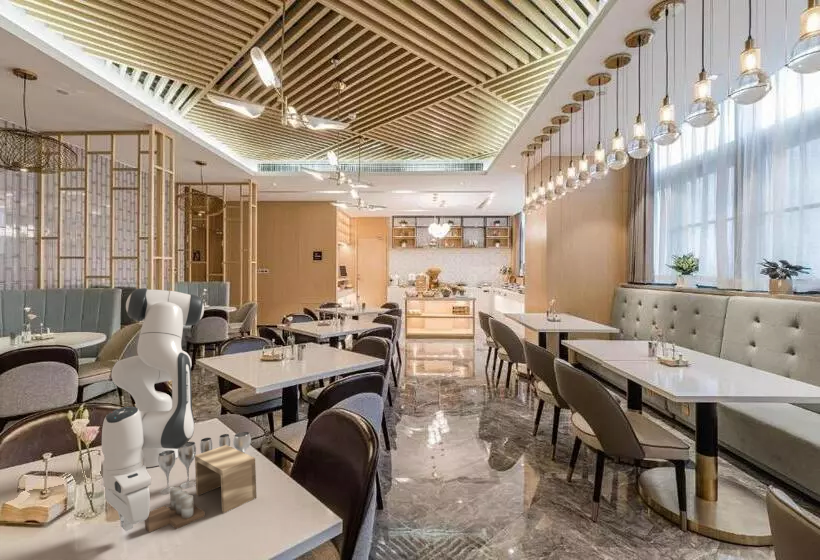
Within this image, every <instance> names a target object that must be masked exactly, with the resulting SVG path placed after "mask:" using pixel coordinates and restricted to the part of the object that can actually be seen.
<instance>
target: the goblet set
mask: <svg viewBox="0 0 820 560" xmlns="http://www.w3.org/2000/svg"><path fill="white" fill-rule="evenodd" d="M251 444H252V437H251V434H250V432H248V431H240V432H238V433H235V434H234V436H233V440H232V445H233V448H234V449H236V450H239V451H241V452H243V453H246V451H247V449H249V447H250V445H251ZM218 445H219V446H218V448H219V447H222V446H224V445H228V446H230V447H231V437H230V434H229V433H224V434H220V435H219V438H218ZM199 449H200V454H201V453H204V452H207V451H210V450H213V439H212V438H211V437H202V438H201V439H200V442H199ZM196 453H197V445H196V443H195V442H194V441H188V442H187V443H186V444H184V445H183V446H182V447H180V448H178V457H177V458H178V459H179V461H180V462H181V463H182V465H184V467H185V469H186V478H187V481H186V482H182V483H181V484H180V486H179V487H181V488H182V489H190V488H192V486H193V487H195V486H196V485H195V484H196V481H195V480H190V479H189V478H190V476H189V475H190V474H189V473H190V466H191V465H192V463H193V461H195V455H197V454H196ZM177 458H176V457H175V452H174V451H173V450H168V451H164V452H161V453H160V454H159V457H158V463H159V465H158V466H159V468H160V469H161V470H162V472H164V475H165V477H166V486H167V487H164V488H163V489H161V490H160V491H159V494H161V495H168V494H169V495H170V490H171V489H173V488H176V486H169V485H170V484H169V478H170V473H171V471H172V469H173V468H174V466H175V464H176V459H177ZM194 481H195V482H194ZM189 487H190V488H189Z"/></svg>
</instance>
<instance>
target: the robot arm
mask: <svg viewBox="0 0 820 560" xmlns="http://www.w3.org/2000/svg"><path fill="white" fill-rule="evenodd" d="M125 310H126V315H127V316H128V317H129V319H131V320H133V321H135V322H139V323H140V322H141V321H142V322H143V323H142V325H141V328H140V332H139V338H138V341H137V348H136V349H137V355H134V356H129V357H126V358H124V359H119V360H118V361H116V362H115V363H114V365H113V367H112V369H111V380H112V381H113V383H114V385H116V386H117V387H118V388H120V389H122V390H125V391H126V392H127V393H128V394H130V395H131V397H132V399H133V400H134V402H135V406H125V407H123V406H122V407H120V408H117V409H114V410H112V411H110V412H109V413H108V414H106V416H105V417H104V420H103V423H102V431H101V450H102V454H103V457H104V458H103V459H104V460H103V464H102V476H103V477H102V480H103V487H104V498H105V500H106V503H108V505H110V506H111V507H112V508H113V509H114V510H116V512H117V514H118V517H119V520H120V527H121V528H122V529H123V530H124V531H125V532H127V531H130V530H132V529H133V528H134V525H136V524H139V523H142V522H145V520H146V519H147V518H148V516H149V512H150V505H151V504H150V503H151V502H150V501H151V498H150V497H151V496H150V495H151V494H150V487H149V486H151V485H152V477H151V475H150V474H149V472H148V470H147V468H152V467H157V466H159V463H158V457H159V454H160V453H161V452H164V451H168V450H173V451H174V452H175V457H176V459H177V458H179V457H178V448H180V447H182V446H183V445H184V444H186V443H187V442H190V440H191V439H192V437H193V435H194V432H195V418H194V413H193V399H192V398H193V394H192V392H193V391H192V385H193V384H192V366H193V365H192V358H191V356H190V355H189V353H188V352H187V351H184V350H183V348H182V340H183V332H184V331H183V330H184V326H185V327H188V326H190V327H191V326H195V325H197V324H198V323H200V320H202V318H203V317H204V312H205V306H204V300H203V299H202V297H200V296H199V295H196V294H193V293H191V294H189V293H185V292H180V291H175V290H165V289H148V288H140V287H139V288H136V289H134V290H133V291H131V293H130V294H129V296H128V297H127V300H126V302H125ZM169 381H171V387H172V390H171V394H172V395H171V396H170V395H169V394H167V393H166V392H162V391H158V390H156V389H155V384H159V383H164V382H169Z"/></svg>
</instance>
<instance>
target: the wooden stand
mask: <svg viewBox="0 0 820 560" xmlns="http://www.w3.org/2000/svg"><path fill="white" fill-rule="evenodd" d="M194 466H195V469H194V470H195V482H196V485H195V493H196V496H198V497H199V496H201V495H203V493H204V494H205V493H208V492H211V491H214V490H215V489H218V488H220V489H221V490H220V491H221V492H220V494H221V513H223V514H225V513H228V512H229V510H230V511H231V509H232V510H234V509H235V508H238V507H240V506H242V504H243V505H244V503H245V504H246V502H247V503H249V502H251V501H253V500H255V499H257V476H256V475H257V471H256V458H255V457H254V456H251V455H249V454H247V453H246V452H244V453H243V452H241V451H239V450H237V449H236V448H235V447H232V446H231V445H230V446H228V445H224V446H222V447H219V446H218V447H216V448H212V450H210V451H207V452H204V453H201V452H200V453H198V454H196V455H195V458H194ZM254 498H255V499H254ZM248 501H249V502H248ZM233 508H234V509H233ZM227 511H228V512H227Z"/></svg>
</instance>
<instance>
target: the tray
mask: <svg viewBox="0 0 820 560" xmlns="http://www.w3.org/2000/svg"><path fill="white" fill-rule="evenodd" d="M169 496H170V497H169V498H170V499H169V503H170V504H169V505H170V506H168V507H167V506H166V505H162V506H161V507H160V506H159V507H158V508H155V509H153V510H149V516H148V518H147V519H146V520H144V528H145V529H144V530H146V531H147V532H148V533H151V532H154V531H157V530H159V529H161V528H163V527H166V526H169V525H171V526H172V527H173V528H175V530H177V529H180V528H182V527H184V526H186V525H188V524H190V523H194V521H198V520H199V519H202V518H204V517H205V516H206V515H205V513H206V512H205V511H204V510H202V509H201V508H199V507H198V506H197V505H195V504H194V495H193V494H188V491H187V490H183V488H181V487H180V486H179V487H175V488H173V489H171V490H170V493H169Z"/></svg>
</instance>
